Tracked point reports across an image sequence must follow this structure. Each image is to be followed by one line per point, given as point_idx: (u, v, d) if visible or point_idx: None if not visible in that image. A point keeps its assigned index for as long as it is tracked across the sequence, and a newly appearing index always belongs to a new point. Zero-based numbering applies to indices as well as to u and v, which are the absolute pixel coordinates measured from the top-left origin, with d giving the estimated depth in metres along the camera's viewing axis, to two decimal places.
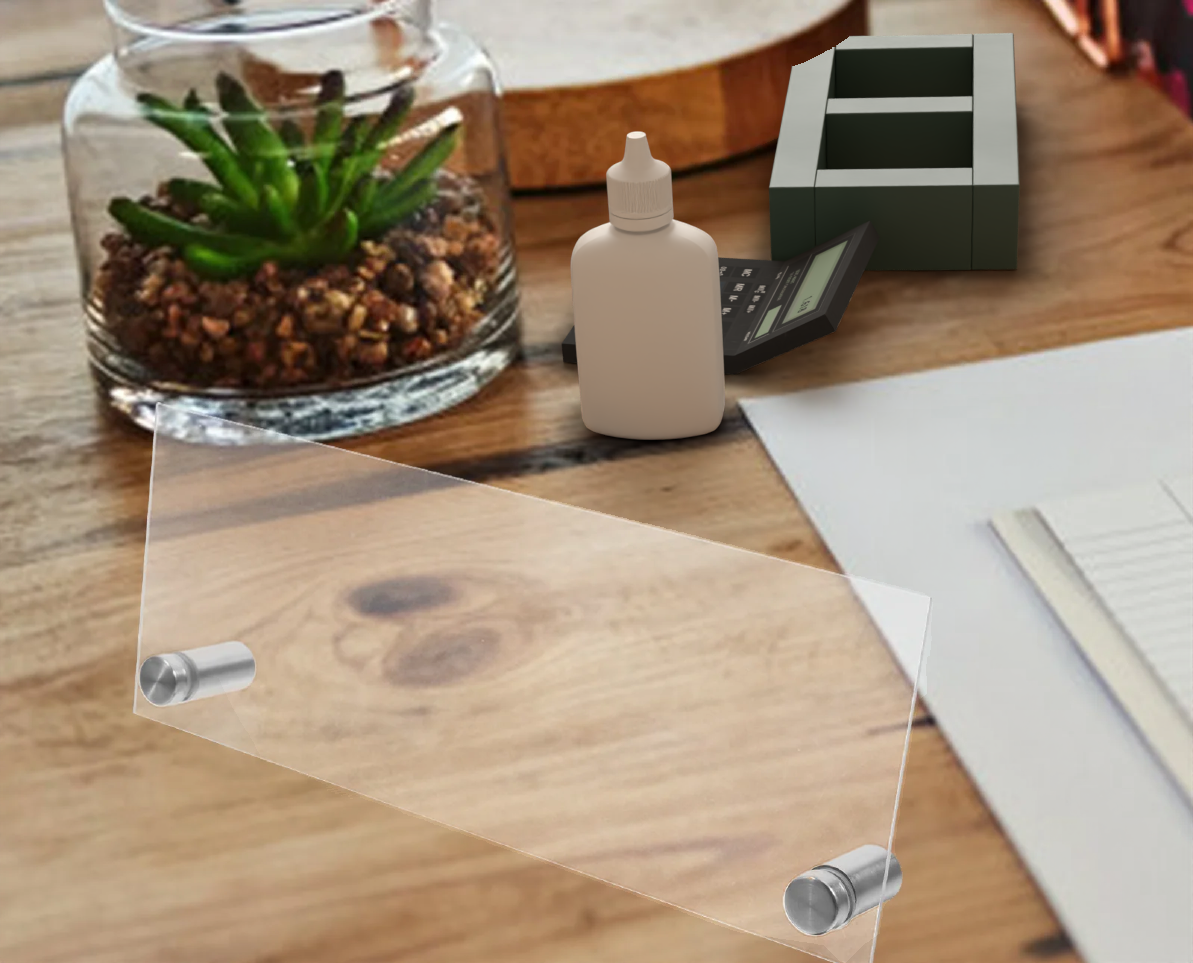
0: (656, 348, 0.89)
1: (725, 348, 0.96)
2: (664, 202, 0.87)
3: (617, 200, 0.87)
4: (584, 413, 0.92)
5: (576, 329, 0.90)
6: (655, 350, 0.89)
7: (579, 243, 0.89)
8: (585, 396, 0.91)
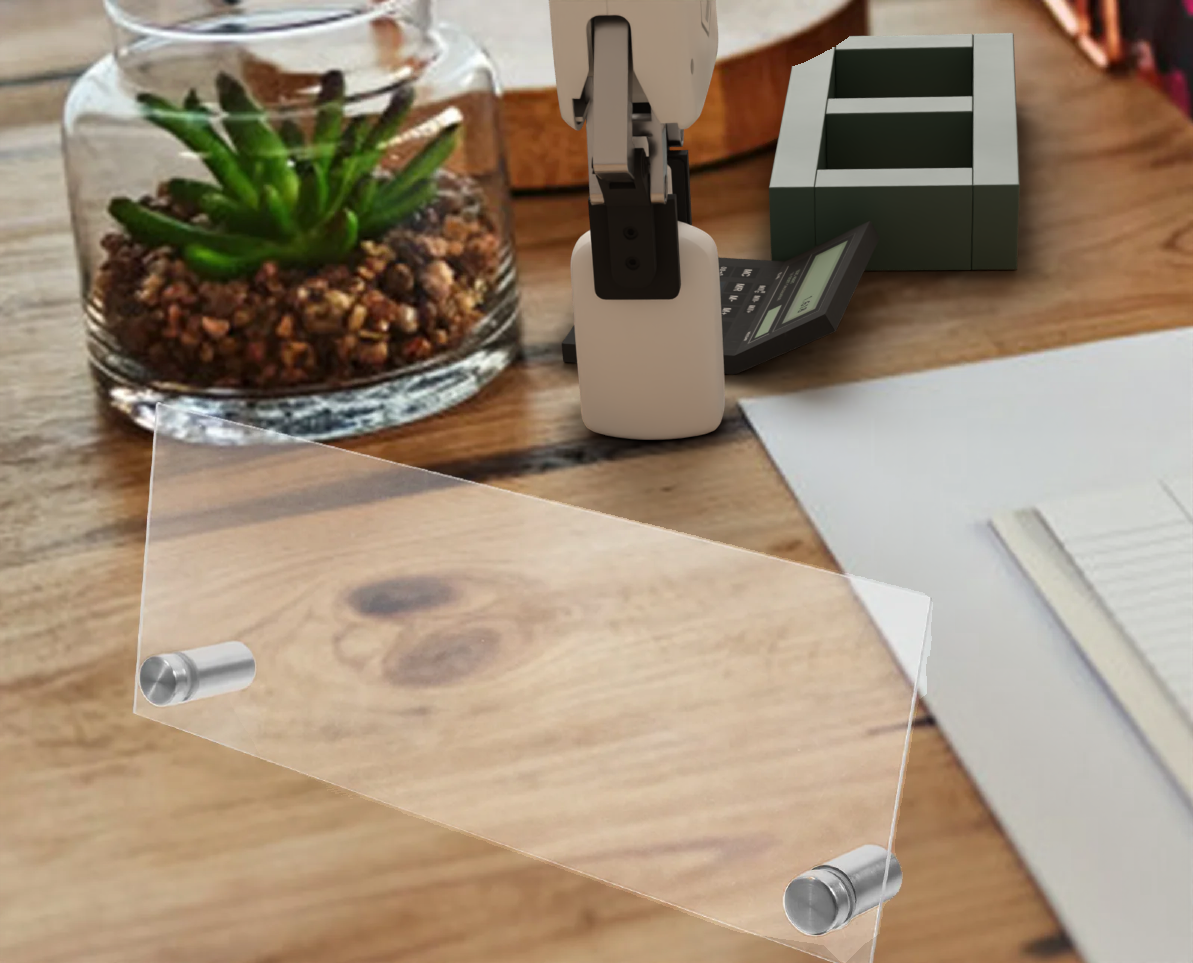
0: (656, 348, 0.89)
1: (725, 348, 0.96)
2: None
3: None
4: (584, 413, 0.92)
5: (576, 329, 0.90)
6: (655, 350, 0.89)
7: (579, 243, 0.89)
8: (584, 396, 0.91)
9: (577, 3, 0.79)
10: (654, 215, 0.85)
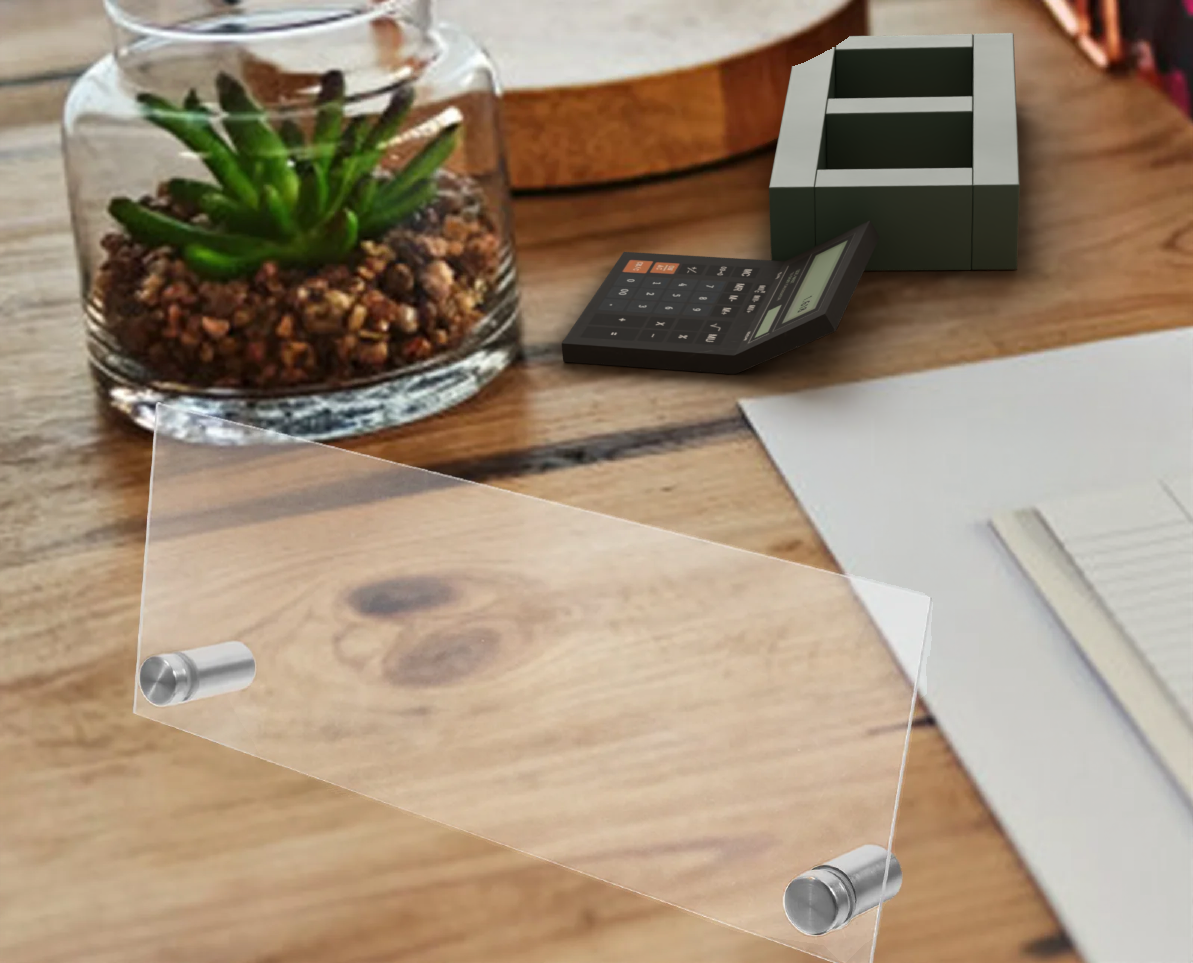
0: None
1: (725, 348, 0.96)
2: None
3: None
4: None
5: None
6: None
7: None
8: None
9: None
10: None
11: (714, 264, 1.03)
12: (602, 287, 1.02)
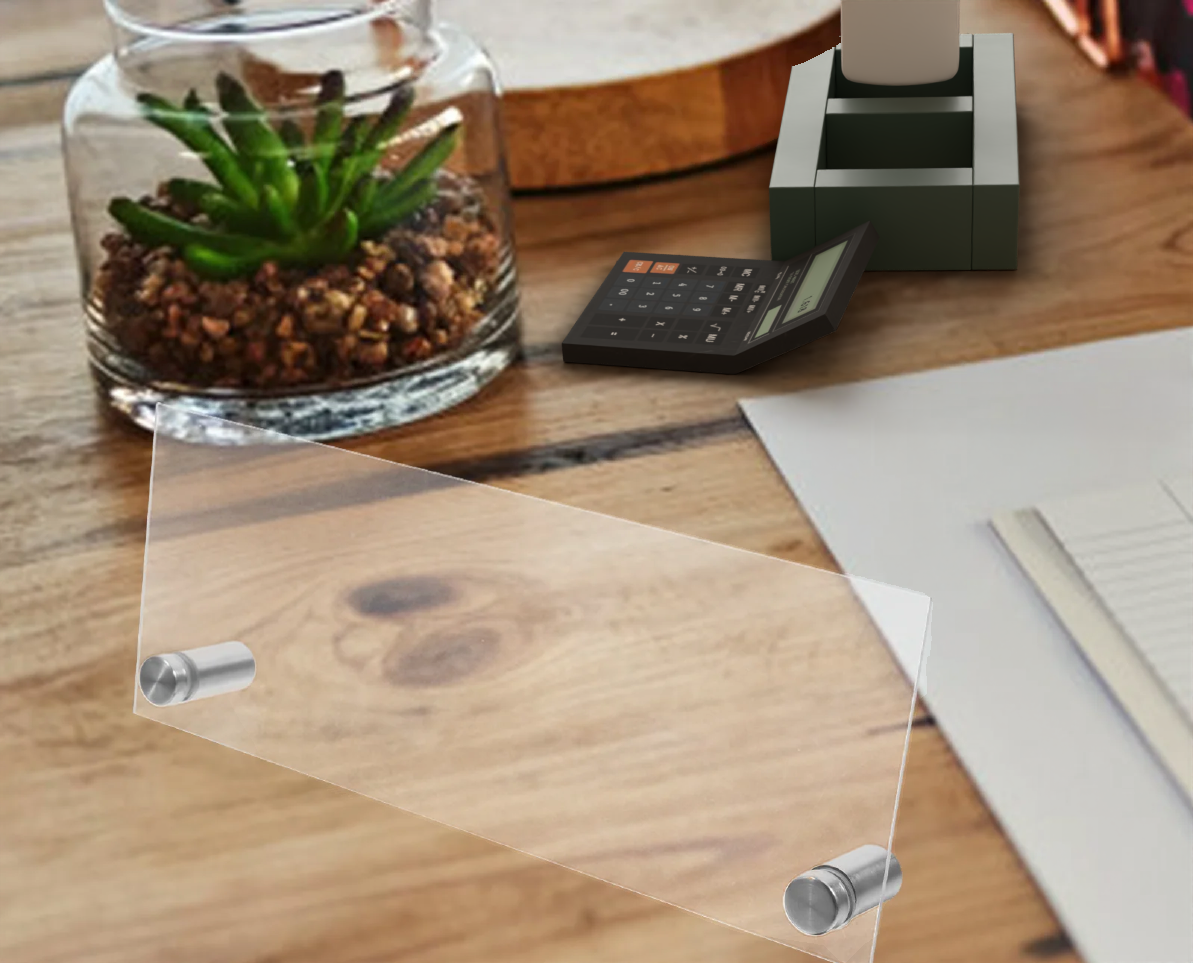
0: (910, 3, 1.09)
1: (725, 348, 0.96)
2: None
3: None
4: (844, 65, 1.12)
5: None
6: (909, 5, 1.09)
7: None
8: (846, 50, 1.12)
9: None
10: None
11: (714, 264, 1.03)
12: (602, 287, 1.02)
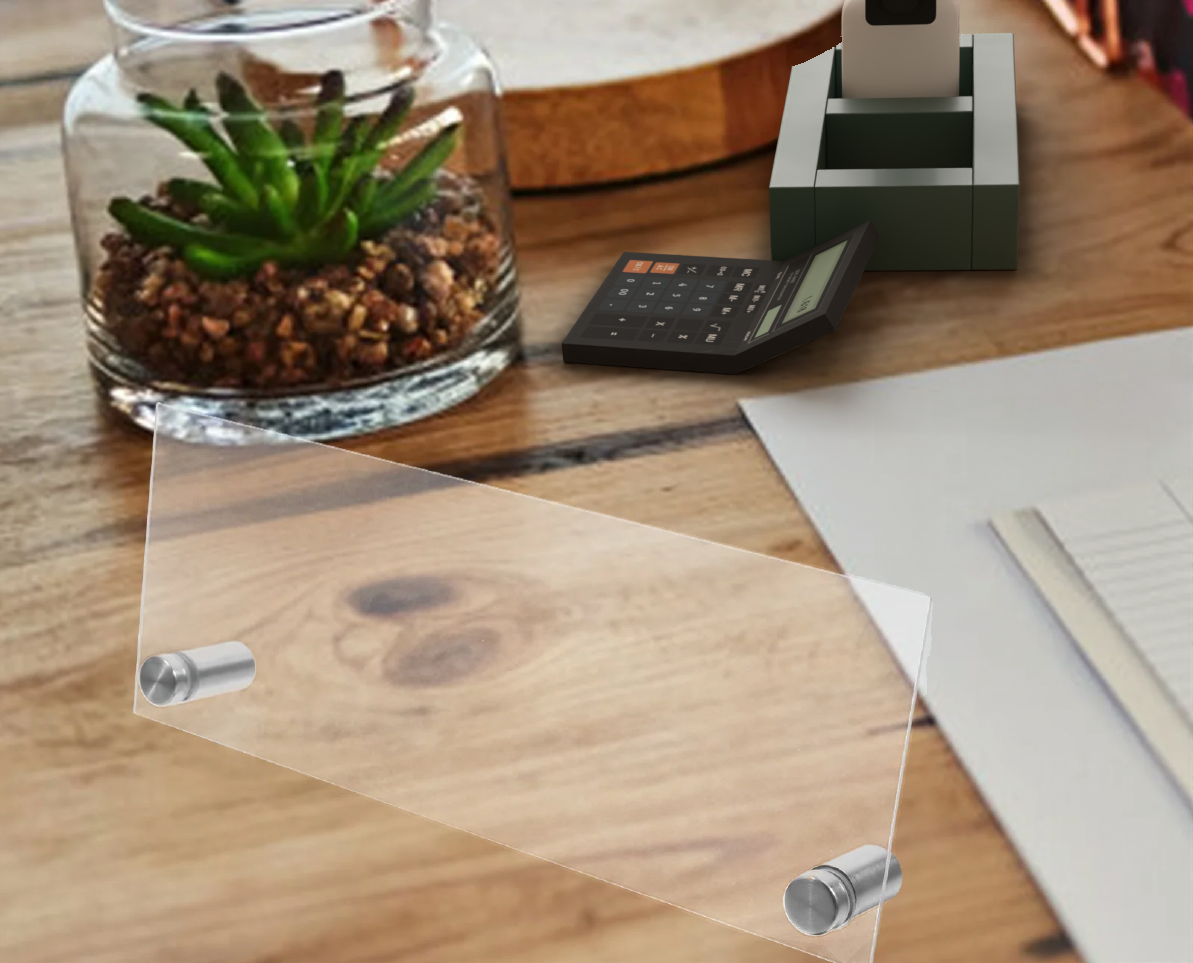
0: (910, 82, 1.11)
1: (725, 348, 0.96)
2: None
3: None
4: None
5: (844, 69, 1.12)
6: (909, 84, 1.11)
7: None
8: None
9: None
10: None
11: (714, 264, 1.03)
12: (602, 287, 1.02)
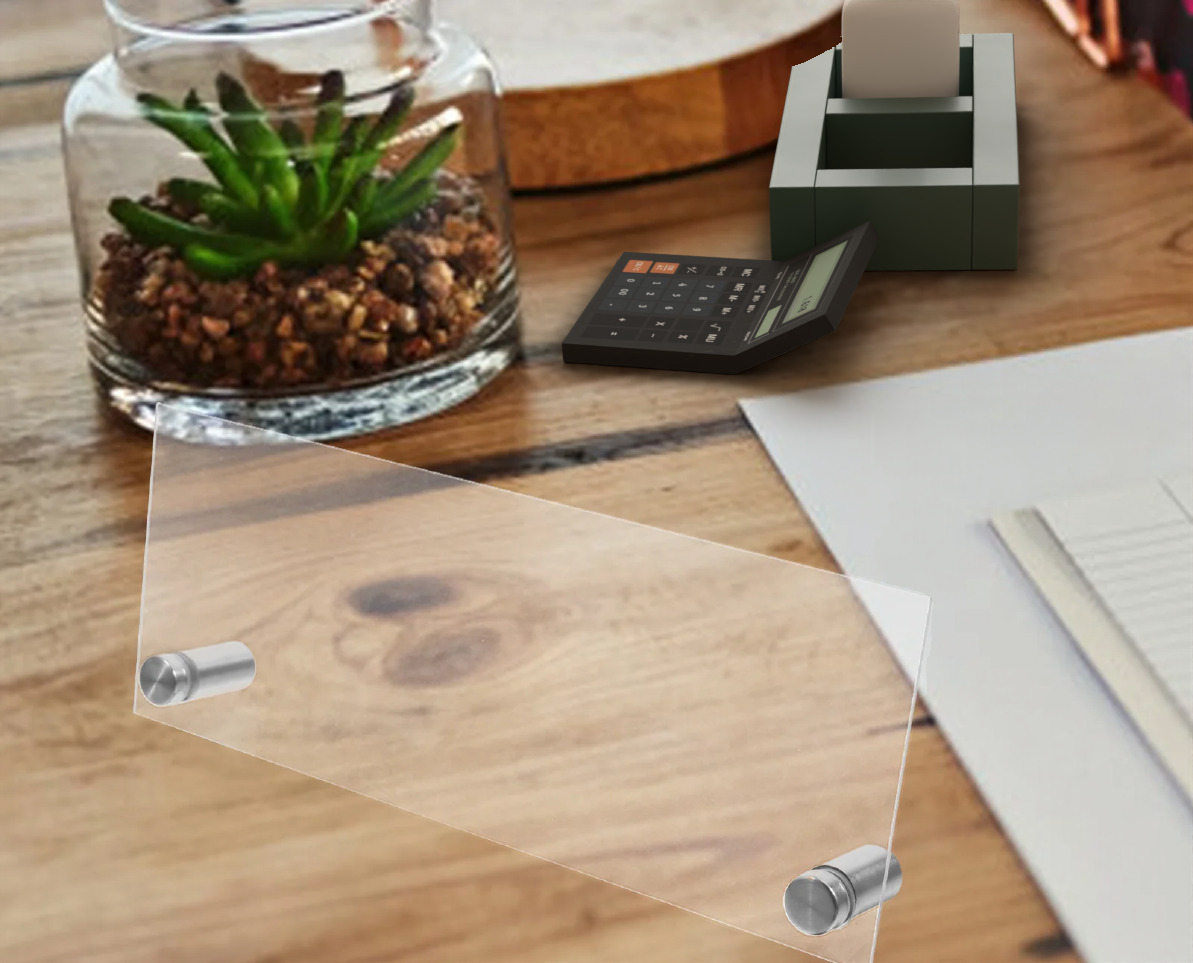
0: (910, 82, 1.11)
1: (725, 348, 0.96)
2: None
3: None
4: None
5: (844, 69, 1.12)
6: (909, 84, 1.11)
7: None
8: None
9: None
10: None
11: (714, 264, 1.03)
12: (602, 287, 1.02)
